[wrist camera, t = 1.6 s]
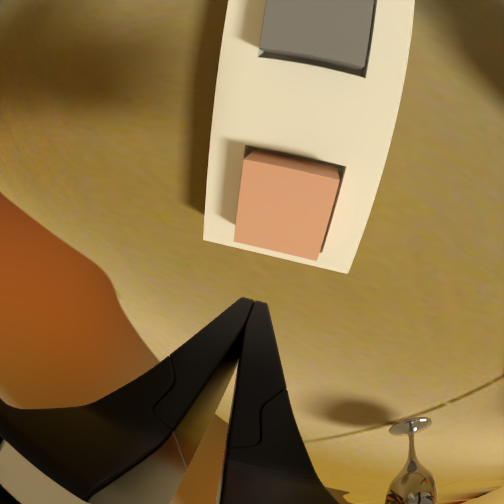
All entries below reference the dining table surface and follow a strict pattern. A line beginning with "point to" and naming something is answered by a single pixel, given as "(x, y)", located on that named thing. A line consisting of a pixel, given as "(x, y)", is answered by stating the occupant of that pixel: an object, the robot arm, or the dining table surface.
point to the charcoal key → (319, 30)
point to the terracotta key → (285, 203)
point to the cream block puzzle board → (306, 121)
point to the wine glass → (412, 470)
